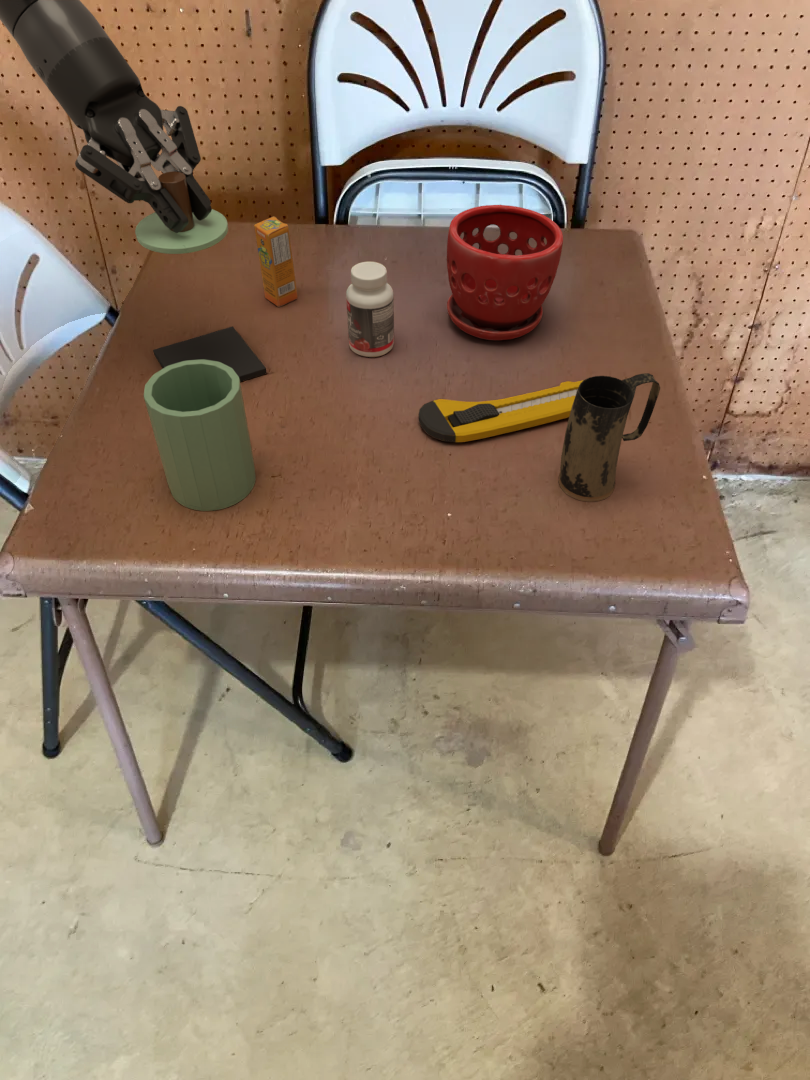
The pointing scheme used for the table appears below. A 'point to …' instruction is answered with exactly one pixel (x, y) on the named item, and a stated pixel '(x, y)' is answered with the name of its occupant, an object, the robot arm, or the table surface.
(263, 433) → the table surface
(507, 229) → the flower pot
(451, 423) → the utility knife
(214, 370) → the canister
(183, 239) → the stopper
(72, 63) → the robot arm
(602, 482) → the mug
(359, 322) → the pill bottle
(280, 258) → the supplement box
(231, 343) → the mat
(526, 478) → the table surface
